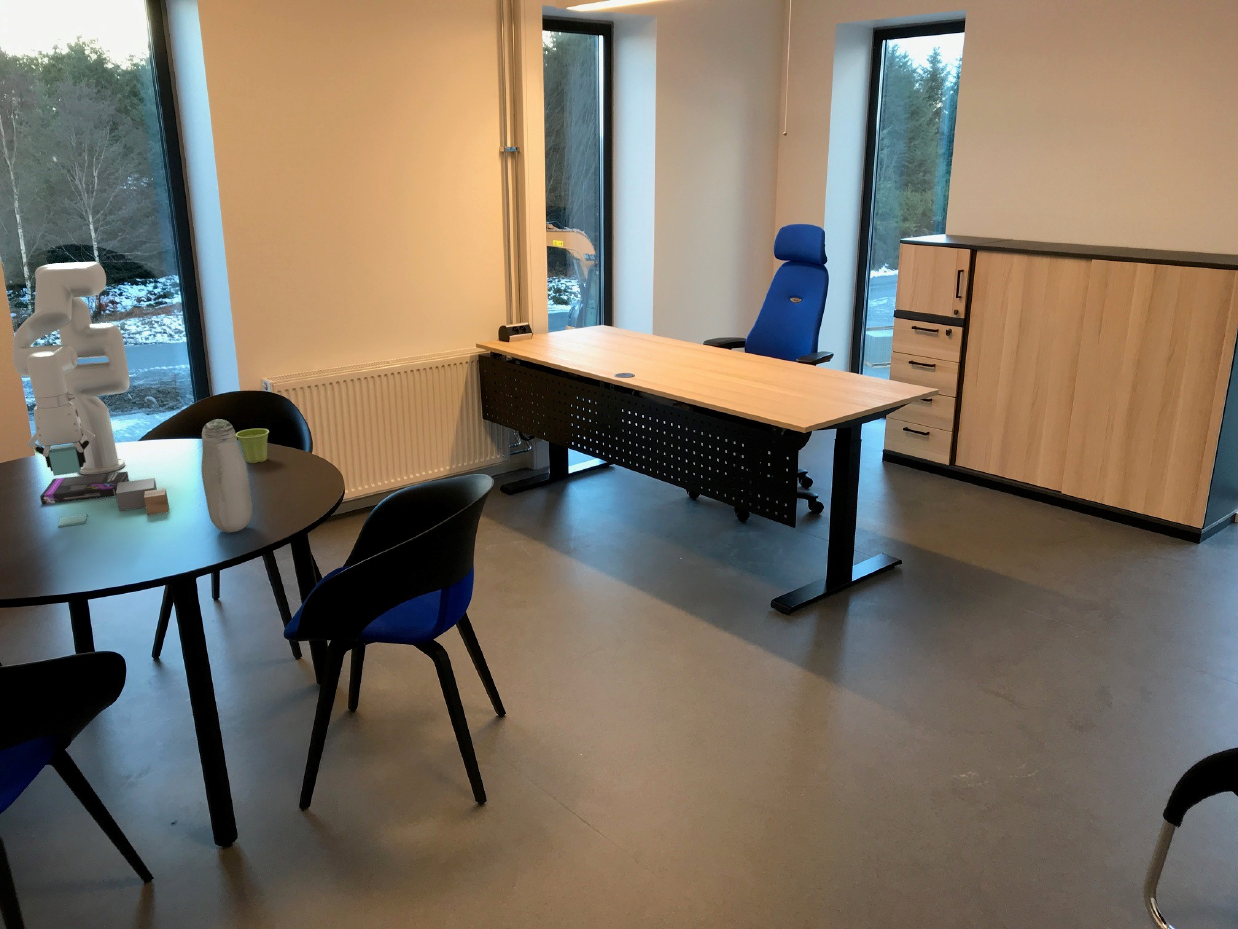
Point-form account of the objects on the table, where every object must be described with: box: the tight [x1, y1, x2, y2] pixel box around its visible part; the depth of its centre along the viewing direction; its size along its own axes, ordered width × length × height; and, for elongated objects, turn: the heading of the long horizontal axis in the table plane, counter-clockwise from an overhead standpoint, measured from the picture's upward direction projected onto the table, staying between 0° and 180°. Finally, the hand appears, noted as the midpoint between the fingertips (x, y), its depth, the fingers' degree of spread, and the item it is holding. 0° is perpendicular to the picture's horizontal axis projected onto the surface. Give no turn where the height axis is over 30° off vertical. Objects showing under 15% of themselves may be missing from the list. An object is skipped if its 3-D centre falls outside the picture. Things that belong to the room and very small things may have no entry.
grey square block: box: [115, 477, 158, 512], centre depth 265 cm, size 9×9×5 cm
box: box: [39, 471, 130, 505], centre depth 275 cm, size 14×4×20 cm
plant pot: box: [235, 428, 270, 464], centre depth 297 cm, size 9×9×9 cm
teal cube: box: [49, 443, 82, 477], centre depth 256 cm, size 6×6×6 cm
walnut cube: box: [144, 488, 170, 516], centre depth 259 cm, size 5×5×5 cm
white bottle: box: [200, 418, 253, 533], centre depth 241 cm, size 10×10×28 cm
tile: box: [57, 513, 88, 528], centre depth 254 cm, size 6×6×1 cm
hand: (67, 467), depth 257 cm, fingers closed on teal cube, 6 cm apart
